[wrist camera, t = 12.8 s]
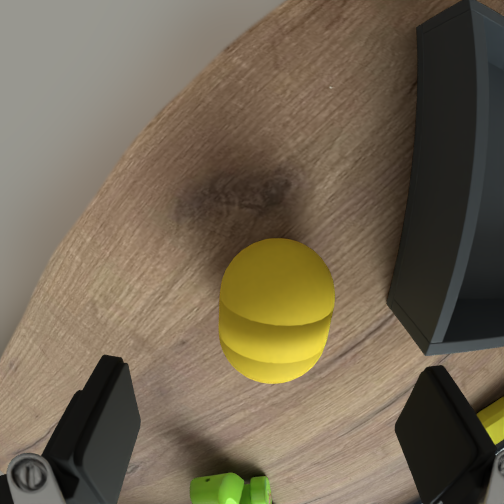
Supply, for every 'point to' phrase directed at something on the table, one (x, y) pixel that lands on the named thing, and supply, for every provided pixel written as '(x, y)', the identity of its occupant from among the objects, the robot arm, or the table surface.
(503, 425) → the banana
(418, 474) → the robot arm
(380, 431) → the table surface
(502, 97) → the crate
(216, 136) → the table surface
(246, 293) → the yellow rounded tiered object
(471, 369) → the table surface
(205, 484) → the toy crocodile
